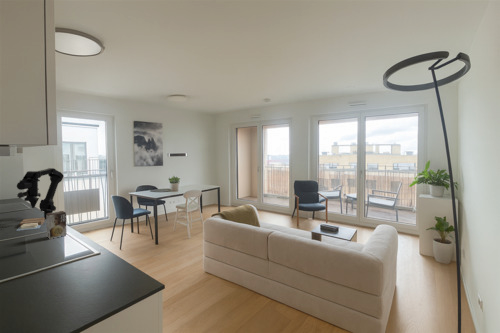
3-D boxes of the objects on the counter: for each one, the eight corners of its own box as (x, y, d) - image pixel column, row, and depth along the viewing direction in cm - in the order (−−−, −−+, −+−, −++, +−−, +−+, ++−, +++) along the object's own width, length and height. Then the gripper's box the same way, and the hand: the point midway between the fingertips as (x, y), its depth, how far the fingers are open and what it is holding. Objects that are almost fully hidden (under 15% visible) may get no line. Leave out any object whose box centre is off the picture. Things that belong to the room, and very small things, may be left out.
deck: (24, 222, 182) (24, 219, 182) (44, 221, 188) (44, 217, 188) (19, 227, 171) (19, 223, 171) (41, 225, 177) (41, 221, 177)
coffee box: (63, 233, 162) (62, 210, 161) (66, 235, 159) (66, 212, 158) (46, 237, 155) (45, 213, 154) (49, 239, 151) (49, 214, 150)
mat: (19, 227, 171) (19, 227, 171) (41, 225, 177) (41, 225, 177) (16, 231, 164) (16, 230, 164) (38, 228, 171) (38, 228, 171)
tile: (23, 226, 172) (23, 224, 172) (37, 225, 176) (37, 222, 176) (20, 229, 167) (20, 226, 167) (35, 227, 171) (35, 225, 171)
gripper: (21, 186, 184) (22, 206, 185) (14, 190, 168) (15, 211, 169) (40, 185, 190) (41, 205, 191) (35, 189, 174) (35, 210, 175)
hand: (33, 207), depth 181 cm, fingers closed
